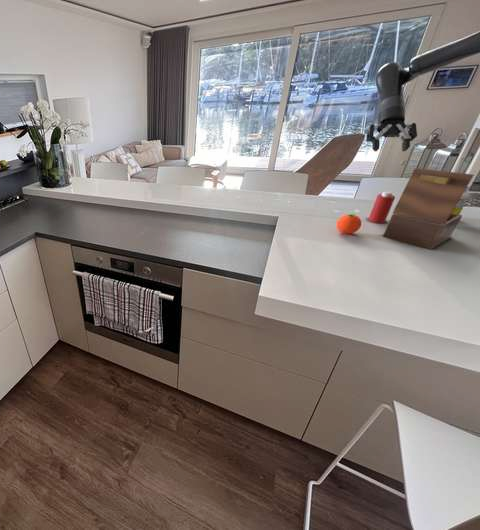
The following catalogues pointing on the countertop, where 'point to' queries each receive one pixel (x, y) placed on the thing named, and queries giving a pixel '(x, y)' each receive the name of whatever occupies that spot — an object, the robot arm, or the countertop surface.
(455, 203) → the lid
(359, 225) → the clementine
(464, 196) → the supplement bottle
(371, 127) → the robot arm
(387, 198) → the sauce bottle
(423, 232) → the chest
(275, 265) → the countertop surface
